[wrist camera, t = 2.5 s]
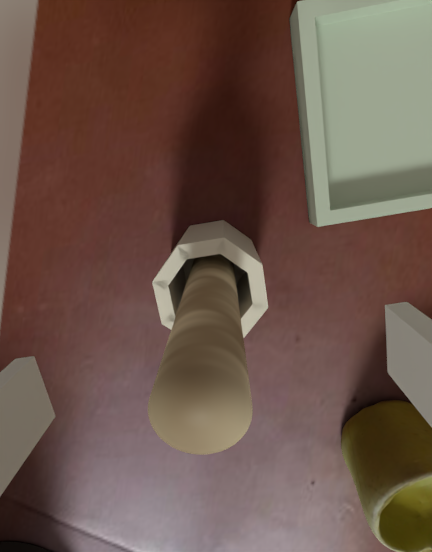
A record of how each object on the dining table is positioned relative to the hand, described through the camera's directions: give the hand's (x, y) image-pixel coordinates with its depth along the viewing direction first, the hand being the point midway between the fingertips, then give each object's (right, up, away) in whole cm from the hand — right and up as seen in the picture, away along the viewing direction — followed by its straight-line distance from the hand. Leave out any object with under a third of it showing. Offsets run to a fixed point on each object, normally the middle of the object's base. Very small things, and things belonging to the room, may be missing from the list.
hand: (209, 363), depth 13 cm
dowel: (0, +4, +15) cm, 16 cm away
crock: (0, +4, +16) cm, 16 cm away
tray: (+16, +16, +12) cm, 26 cm away
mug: (+16, -13, +21) cm, 30 cm away
